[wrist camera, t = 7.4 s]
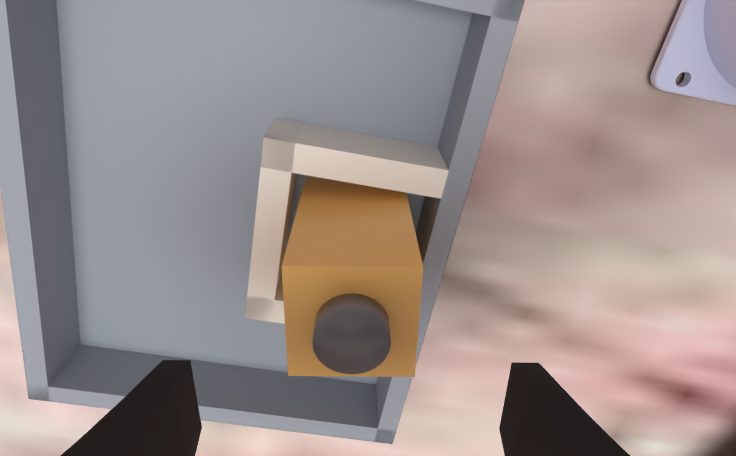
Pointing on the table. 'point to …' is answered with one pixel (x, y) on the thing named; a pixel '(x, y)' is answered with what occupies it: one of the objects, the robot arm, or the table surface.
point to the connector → (351, 282)
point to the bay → (223, 181)
